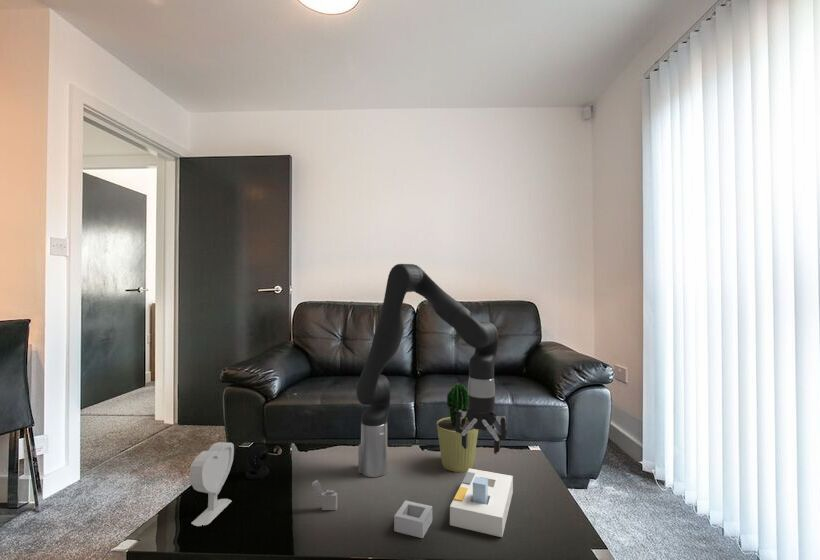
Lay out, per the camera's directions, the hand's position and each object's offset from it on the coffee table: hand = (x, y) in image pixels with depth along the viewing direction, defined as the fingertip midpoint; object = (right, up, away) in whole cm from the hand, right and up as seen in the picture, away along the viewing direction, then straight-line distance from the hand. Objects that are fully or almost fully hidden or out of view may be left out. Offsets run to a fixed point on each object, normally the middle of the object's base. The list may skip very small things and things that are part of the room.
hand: (480, 450), depth 109 cm
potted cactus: (-3, -19, +32) cm, 37 cm away
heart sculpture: (-77, -18, +1) cm, 79 cm away
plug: (0, -19, 0) cm, 19 cm away
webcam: (-72, -19, +23) cm, 78 cm away
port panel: (+2, -19, +4) cm, 19 cm away
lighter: (-45, -19, +3) cm, 49 cm away
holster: (-19, -18, -5) cm, 27 cm away
